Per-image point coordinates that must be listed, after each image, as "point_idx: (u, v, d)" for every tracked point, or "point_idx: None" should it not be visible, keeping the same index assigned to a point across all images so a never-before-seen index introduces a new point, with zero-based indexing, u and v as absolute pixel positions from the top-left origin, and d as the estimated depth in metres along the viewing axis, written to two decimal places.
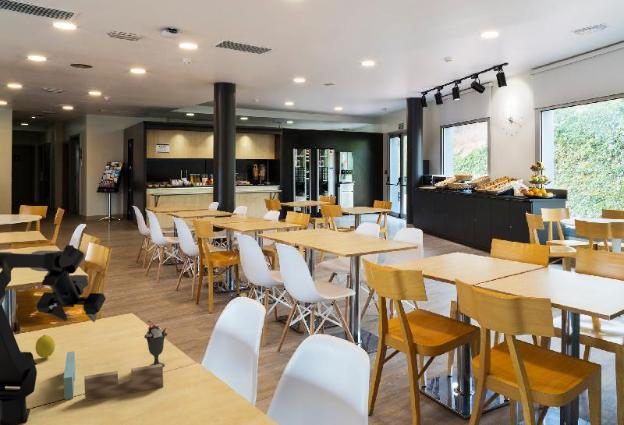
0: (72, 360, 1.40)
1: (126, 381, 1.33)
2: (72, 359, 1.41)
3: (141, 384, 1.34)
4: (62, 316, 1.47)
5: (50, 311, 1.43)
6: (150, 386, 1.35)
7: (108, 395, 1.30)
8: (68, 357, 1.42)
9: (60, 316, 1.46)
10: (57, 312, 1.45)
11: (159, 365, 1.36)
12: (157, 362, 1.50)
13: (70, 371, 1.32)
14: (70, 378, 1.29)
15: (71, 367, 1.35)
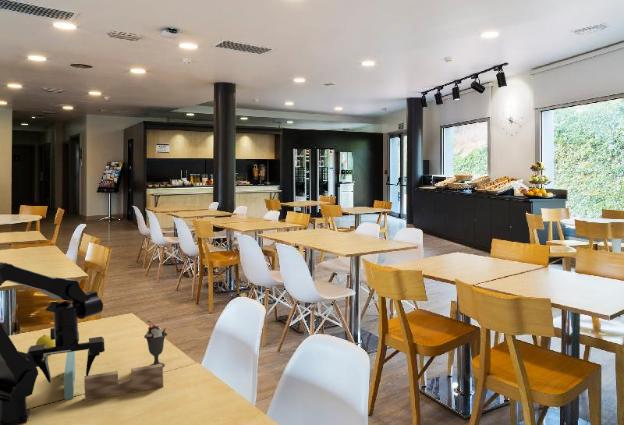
0: (72, 360, 1.40)
1: (126, 381, 1.33)
2: (72, 359, 1.41)
3: (141, 384, 1.34)
4: (49, 374, 1.30)
5: (43, 361, 1.27)
6: (150, 386, 1.35)
7: (108, 395, 1.30)
8: (68, 357, 1.42)
9: (48, 372, 1.29)
10: (47, 366, 1.29)
11: (159, 365, 1.36)
12: (157, 362, 1.50)
13: (70, 371, 1.32)
14: (70, 378, 1.29)
15: (71, 367, 1.35)
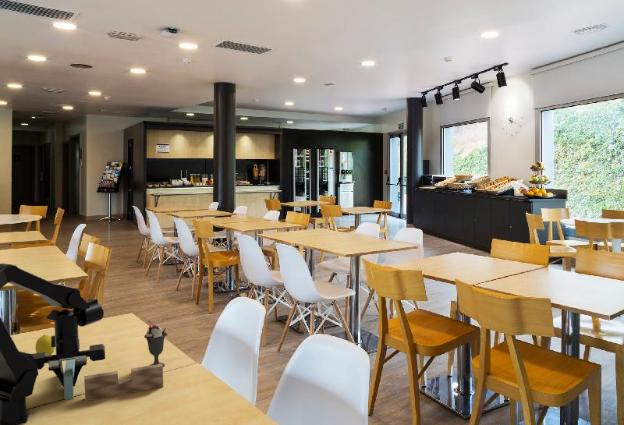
0: (72, 360, 1.40)
1: (126, 381, 1.33)
2: (72, 359, 1.41)
3: (141, 384, 1.34)
4: None
5: (58, 367, 1.29)
6: (150, 386, 1.35)
7: (108, 395, 1.30)
8: None
9: (63, 378, 1.31)
10: (62, 372, 1.31)
11: (159, 365, 1.36)
12: (157, 362, 1.50)
13: (70, 371, 1.32)
14: (70, 378, 1.29)
15: (71, 367, 1.35)
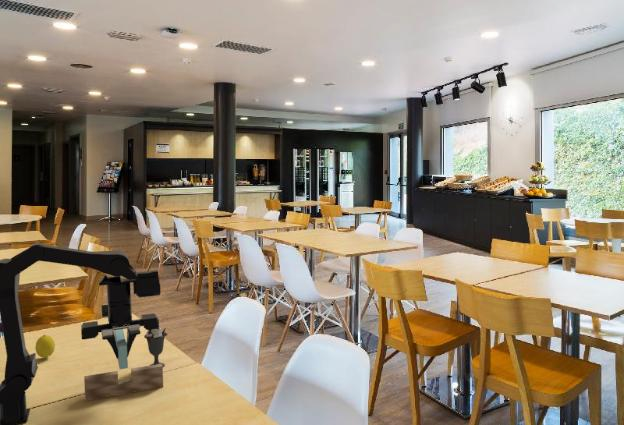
0: (122, 331, 1.34)
1: (126, 381, 1.33)
2: (122, 330, 1.35)
3: (141, 384, 1.34)
4: None
5: (112, 336, 1.24)
6: (150, 386, 1.35)
7: (108, 395, 1.30)
8: None
9: None
10: (115, 341, 1.25)
11: (159, 365, 1.36)
12: (157, 362, 1.50)
13: (123, 340, 1.27)
14: (125, 347, 1.23)
15: (123, 337, 1.30)
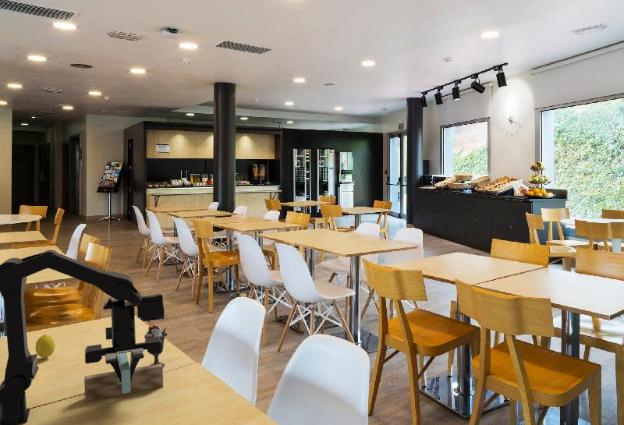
0: (125, 353, 1.35)
1: None
2: None
3: (141, 384, 1.34)
4: (120, 373, 1.26)
5: (115, 360, 1.24)
6: (150, 386, 1.35)
7: (108, 395, 1.30)
8: None
9: None
10: None
11: (159, 365, 1.36)
12: (157, 362, 1.50)
13: (126, 364, 1.27)
14: (128, 371, 1.23)
15: (126, 360, 1.30)
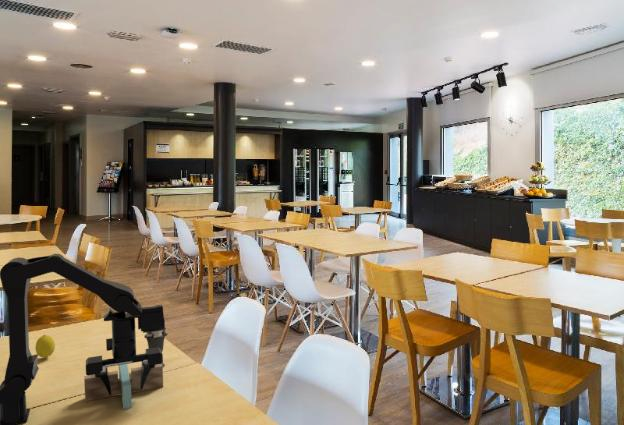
0: (126, 367, 1.35)
1: None
2: (126, 366, 1.36)
3: None
4: (110, 386, 1.25)
5: (105, 373, 1.23)
6: (150, 386, 1.35)
7: (108, 395, 1.30)
8: None
9: (109, 384, 1.25)
10: (108, 378, 1.24)
11: (159, 365, 1.36)
12: None
13: (127, 379, 1.27)
14: (129, 387, 1.24)
15: (127, 375, 1.30)
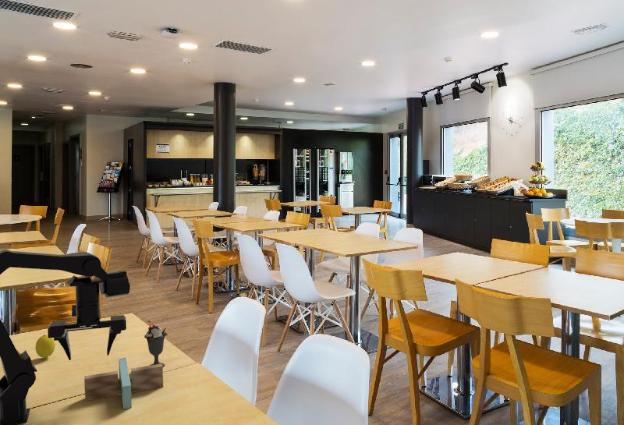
0: (126, 367, 1.35)
1: None
2: (126, 366, 1.36)
3: (141, 384, 1.34)
4: (69, 351, 1.26)
5: (63, 337, 1.24)
6: (150, 386, 1.35)
7: (108, 395, 1.30)
8: (121, 364, 1.37)
9: (69, 349, 1.26)
10: (68, 343, 1.26)
11: (159, 365, 1.36)
12: (157, 362, 1.50)
13: (127, 379, 1.27)
14: (129, 387, 1.24)
15: (127, 375, 1.30)
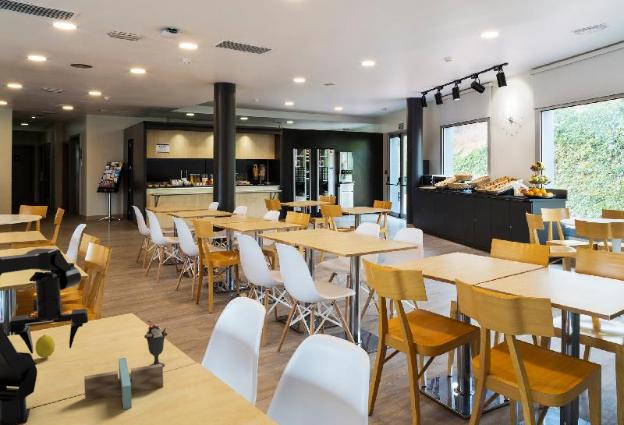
0: (126, 367, 1.35)
1: None
2: (126, 366, 1.36)
3: (141, 384, 1.34)
4: (31, 344, 1.29)
5: (24, 331, 1.26)
6: (150, 386, 1.35)
7: (108, 395, 1.30)
8: (121, 364, 1.37)
9: (30, 343, 1.28)
10: (29, 337, 1.28)
11: (159, 365, 1.36)
12: (157, 362, 1.50)
13: (127, 379, 1.27)
14: (129, 387, 1.24)
15: (127, 375, 1.30)
